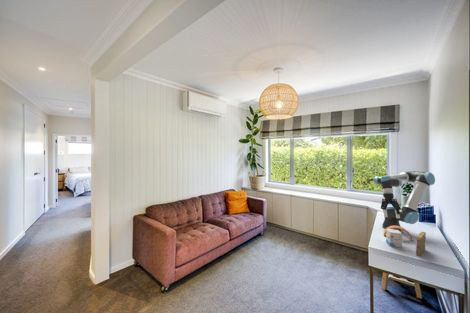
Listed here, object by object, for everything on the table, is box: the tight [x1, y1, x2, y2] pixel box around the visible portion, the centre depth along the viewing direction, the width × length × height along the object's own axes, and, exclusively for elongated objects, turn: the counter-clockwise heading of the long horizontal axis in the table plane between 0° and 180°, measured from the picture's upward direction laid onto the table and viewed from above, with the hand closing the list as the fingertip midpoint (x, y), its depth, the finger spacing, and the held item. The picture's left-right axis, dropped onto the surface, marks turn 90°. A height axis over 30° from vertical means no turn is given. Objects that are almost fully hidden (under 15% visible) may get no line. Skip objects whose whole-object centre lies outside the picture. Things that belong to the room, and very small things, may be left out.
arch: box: [383, 225, 413, 242], centre depth 185 cm, size 6×20×10 cm, turn 59°
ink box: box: [385, 229, 403, 248], centre depth 171 cm, size 9×8×12 cm
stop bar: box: [415, 230, 427, 257], centre depth 157 cm, size 18×2×14 cm, turn 128°
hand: (391, 217), depth 180 cm, fingers open, 13 cm apart
